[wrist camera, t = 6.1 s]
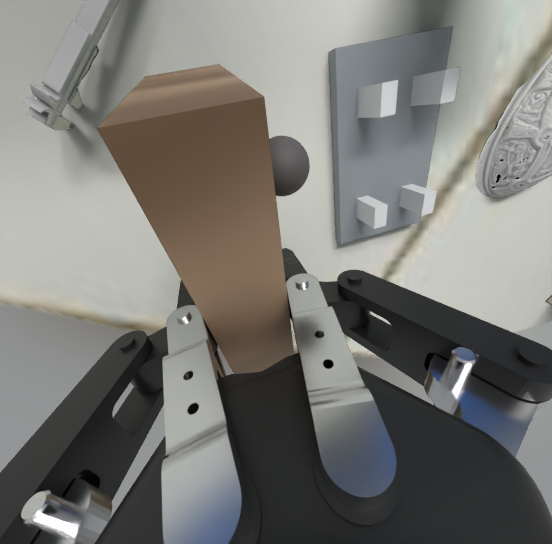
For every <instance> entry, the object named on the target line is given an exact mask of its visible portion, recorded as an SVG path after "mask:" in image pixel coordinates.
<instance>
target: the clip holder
mask: <svg viewBox="0 0 552 544" xmlns="http://www.w3.org/2000/svg"><path fill="white" fill-rule="evenodd" d="M452 29H453V26H452V27H446V28H441V29H436V30H430V31H425V32H420V33H414V34H409V35H404V36H398V37H393V38H388V39H382V40H377V41H372V42H366V43H361V44H356V45H350V46H345V47H340V48H335V49H333V50H332V51H330V52H329V73H330V99H331V124H332V150H333V175H334V200H335V226H336V240H337V241H338V242H339V243H340V244H344V243H347V242H351V241H354V240H358V239H361V238H365V237H368V236H372V235H375V234H379V233H383V232H386V231H390V230H393V229H397V228H400V227H404V226H407V225H411V224H414V223H418V222H420V221H421V216H422V215H426V214H429V213H433V208H434V203H435V198H436V192H437V191H434V190H430V189H427V188H426V185H427V179H428V173H429V167H430V161H431V155H432V149H433V143H434V137H435V131H436V125H437V119H438V113H439V107H440V104H442V103H447V102H451V101H454V99H455V94H456V89H457V83H458V78H459V73H460V68H461V67H457V68H452V69H447V70H446V65H447V59H448V53H449V47H450V41H451V35H452Z"/></svg>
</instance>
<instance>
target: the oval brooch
mask: <svg viewBox="0 0 552 544" xmlns="http://www.w3.org/2000/svg"><path fill="white" fill-rule="evenodd" d="M506 127H508V128H506ZM502 157H503V158H502ZM526 157H528V160H527V158H526ZM500 159H504V161H500ZM523 159H525V160H524V163H523ZM519 161H521V163H520V162H519ZM525 161H526V162H525ZM494 163H495V165H494ZM518 163H520V164H518ZM499 174H500V175H501V178H500V179H499V182H498V183H496V180H497V176H498V175H499ZM551 175H552V53H551V54H550V55H549V56H548V58H547V59H546V60H545V61H544V62H543V63H542V65H541V66H540V67H539V68H538V70H537V71H536V72H535V73H534V74H533V75H532V77H531V78H530V79H529V80H528V81H527V82H526V83H525V84H524V85H523V86H521V87H520V88H519V89H518V90H517V92H516V93H515V95H514V96H513V98H512V99H511V101H510V103H509V105H508V106H507V108H506V110H505V111H504V113H503V115H502V117H501V118H500V120H499V121H498V125H497V128H496V129H495V131H494V132H493V133H492V134H491V136H490V137H489V138H488V140H487V142H486V144H485V145H484V147H483V150H482V152H481V155H480V157H479V160H478V163H477V171H476V174H475V180H476V186H477V188H478V190H479V191H480V193H481V192H482V193H483V194H485V195H486V196H491V197H504V196H508V195H511V194H514V193H516V192H519V191H521V190H524V189H526V188H529V187H531V186H532V185H535V184H537V183H538V182H540V181H542V180H544V179H546V178H548V177H550V176H551ZM505 177H507V178H506V179H505V180H502V179H504V178H505ZM516 177H517V178H518V177H519V179H516ZM514 178H515V179H514ZM521 184H522V186H520V185H521ZM494 186H496V187H495V188H491V187H494ZM491 189H493V190H491ZM482 193H481V194H482Z"/></svg>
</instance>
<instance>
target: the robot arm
mask: <svg viewBox="0 0 552 544" xmlns="http://www.w3.org/2000/svg"><path fill="white" fill-rule="evenodd" d="M282 255H283V263H284V272H285V280H286V289H287V298H288V306H289V315H290V318H291V320H292V322H293V328H294V333H295V339H296V344H297V349H298V353H297V354H294V355H290V356H287V357H286V358H284V359H282V360H280V361H279V362H277V363H275V364H274V365H272V366H270V367H269V368H267V369H265V370H263V371H261V372H252V373H240V374H231V375H228V376H226V373H225V370H224V367H223V364H222V360H221V357H220V354H219V351H218V348H217V342H216V340H215V339H214V337H213V335H212V333H211V331H210V330H209V328H208V326H207V324H206V322H205V321H204V319H203V317H202V315H201V313H200V312H199V310H198V308H197V306H196V305H195V303H194V301H193V299H192V297H191V296H190V294H189V292H188V290H187V288H186V287H185V285H184V283H183V281H182V280H181V283H180V290H179V297H178V304H177V310H175V311H174V312H172V313H171V314H170V316H169V317H168V319H167V322H166V325H167V326H166V327H165V328H163V329H161V330H160V331H158V332H156V333H154V334H152V335H150V336H147V335H146V333H145V332H143V331H132V332H129V333H127V334H125V335H123V336H121V337H120V338H119V339H117V340H116V341H115V342H114V343H113V344H112V345H111V346H110V348H109V349H108V350H107V351H106V352H105V353H104V354H103V356H102V357H101V358H100V359H99V360H98V361H97V362H96V364H95V365H94V366H93V367H92V368H91V369H90V370H89V372H88V373H87V374H86V375H85V376H84V378H83V379H82V380H81V381H80V382H79V383H78V384H77V385H76V386H75V388H74V389H73V390H72V391H71V392H70V394H69V395H68V396H67V397H66V398H65V399H64V400H63V401H62V403H61V404H60V405H59V406H58V407H57V408H56V409H55V411H54V412H53V413H52V414H51V415H50V416H49V417H48V419H47V420H46V421H45V422H44V423H43V424H42V426H41V427H40V428H39V429H38V430H37V431H36V432H35V434H34V435H33V436H32V437H31V438H30V439H29V440H28V442H27V443H26V444H25V445H24V446H23V448H21V450H20V451H19V452H18V453H17V454H16V455H15V457H14V458H13V459H12V460H11V461H10V462H9V463H8V465H7V466H6V467H5V468H4V469H3V470H2V471H1V473H0V544H552V516H551V514H550V512H549V509H548V507H547V505H546V503H545V501H544V498H543V496H542V494H541V492H540V491H539V489H538V487H537V485H536V484H535V482H534V480H533V479H532V478H531V476H530V475H529V473H528V472H527V471H526V469H525V468H524V467H523V466H522V465H521V463H520V462H519V461H518V460H517V459H516V458H515V457H516V455H517V452H518V450H519V448H520V445H521V443H522V441H523V438H524V436H525V434H526V431H527V429H528V426H529V424H530V422H531V421H532V420H533V419H534V418H535V416H536V415H537V414H538V413H539V412H540V411H541V410H542V408H543V407H544V406H545V405H546V404H547V403H548V401H549V400H550V399H551V398H552V350H551V349H549V348H547V347H546V346H543V345H541V344H539V343H537V342H534V341H532V340H529V339H527V338H524V337H522V336H520V335H517V334H515V333H512V332H510V331H508V330H505V329H503V328H500V327H498V326H495V325H493V324H490V323H488V322H486V321H483V320H481V319H478V318H476V317H473V316H471V315H469V314H466V313H464V312H461V311H459V310H456V309H454V308H452V307H449V306H447V305H444V304H442V303H439V302H437V301H435V300H432V299H430V298H427V297H425V296H422V295H420V294H417V293H415V292H413V291H410V290H408V289H405V288H403V287H400V286H398V285H396V284H393V283H391V282H388V281H386V280H383V279H381V278H379V277H376V276H374V275H371V274H369V273H366V272H364V271H360V270H348V271H345V272H343V273H341V274H340V275H339V276H338V279H337V280H338V281H335V282H320V281H318V279H317V278H316V277H315V276H313V275H311V274H308V273H307V272H306V271H305V269H304V268H303V266H302V265H301V263H300V262H299V260H298V259H297V257H296V256H295V254H294V253H293V251H291V250H289V249H287V248H284V249H282ZM370 311H371V312H373V313H375V314H377V315H379V316H381V317H383V318H384V319H386V320H387V321H388V322H389V323H390V324H391V325H392V326H391V325H389V324H387V323H386V322H384V321H382V320H380V319H378V318H376V317H375V316H373V315H371V314H370ZM343 333H344V334H345V335H347V336H348V337H350V338H351V339H353V340H354V341H356V342H358V343H359V344H361V345H362V346H364V347H365V348H367V349H368V350H370V351H371V352H373V353H374V354H376V355H377V356H379V357H380V358H382V359H383V360H385V361H386V362H388V363H390V364H391V365H392V366H394V367H396V368H397V369H399V370H400V371H401V372H403V373H405V374H406V375H408V376H409V377H411V378H412V379H414V380H415V381H417V382H418V383H420V384H421V385H423V386H424V389H425V392H426V394H427V395H428V397H429V398H430V399H431V400H432V402H433V403H434V405H432V404H430V403H428V402H426V401H424V400H422V399H420V398H418V397H416V396H414V395H412V394H410V393H408V392H406V391H405V390H403V389H401V388H399V387H397V386H395V385H393V384H391V383H389V382H387V381H385V380H383V379H381V378H379V377H377V376H375V375H373V374H371V373H369V372H367V371H365V370H363V369H362V368H359V367H358V366H356V364H355V361H354V358H353V356H352V354H351V351H350V349H349V346H348V344H347V341H346V339H345V336H344V334H343ZM130 382H131V383H132V385H133V386H134V388H133V389H132V391H131V392H130V394H129V395H128V397H127V398H126V400H125V401H124V403H123V404H122V406H121V407H120V409H119V410H118V412H117V413H116V415H115V416H114V418H113V417H112V411H113V408H114V405H115V404H116V402H117V400H118V399H119V398H120V396H121V395H122V393H123V392H124V390H125V389H126V388H127V386H128V385H129V383H130ZM163 405H164V412H165V437H164V438H163V440H162V441H161V443H160V444H159V446H158V447H157V449H156V450H155V452H154V454H153V455H152V456H151V458H150V460H149V461H148V463H147V464H146V466H145V467H144V469H143V470H142V472H141V473H140V475H139V476H138V478H137V479H136V481H135V482H134V484H133V485H132V487H131V488H130V490H129V492H128V493H127V495H126V496H125V498H124V499H123V501H122V502H121V504H120V505H119V507H118V508H117V510H116V511H115V513H114V514H113V516H112V518H111V513H112V500H113V498H114V496H115V494H116V492H117V491H118V489H119V487H120V485H121V483H122V481H123V479H124V477H125V475H126V474H127V472H128V470H129V468H130V466H131V464H132V462H133V461H134V459H135V457H136V455H137V453H138V451H139V449H140V447H141V446H142V444H143V442H144V440H145V438H146V436H147V434H148V433H149V431H150V429H151V427H152V425H153V423H154V421H155V419H156V418H157V416H158V414H159V412H160V410H161V408H162V406H163ZM110 518H111V519H110Z"/></svg>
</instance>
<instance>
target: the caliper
mask: <svg viewBox="0 0 552 544" xmlns="http://www.w3.org/2000/svg"><path fill="white" fill-rule="evenodd" d="M118 2H119V0H85V2H84V5H83V7H82V9H81V11H80V13H79V15H78V17H77V19H76V21H74V20H72V21H71V23H70V25H69V27H68V29H67V31H66V33H65V35H64V37H63V39H62V41H61V43H60V45H59V47H58V49H57V51H56V53H55V55H54V57H53V59H52V61H51V63H50V65H49V67H48V69H47V71H46V73H45V75H44V77H43V80H42V83H43V84H44V86H43V88H38V87H37V86H35V85H34V84H32V83H31V84H30V86H31V90H32V93H33V94H34V96H36V97H37V99H34V98H26V99H23V100H22V102H24V103H26V104H27V105H29V106H30V108H29V110H28V112H27V114H29V115H30V116H32V117H34V118H35V119H37V120H38V121H40V122H42V123H43V124H45V125H47V126H49V127H50V128H52V129H54V130H67V129H71V128H72V127H73V126H74V124H73V123H72V122H70V121H69V120H67V119H66V118H65V117H63V116H62V115H61V114H62V112H63V110H64V108H65V106H66V104H67V103H69V104H70V105H72V106H73V107H75V108H76V109H79V110H81V108H82V105H83V104H82V101H81V98H80V95H79V91H78V88H77V87H78V85H79V83H80V81H81V79H83V78H84V76H85V75H86V74H87V72H88V71H89V69H90V67H91V64H92V62H93V60H94V58H95V57H96V55H97V54H98V51H99V49H98V47H97V43H98V41H99V39H100V38H101V36H102V34H103V32H104V30H105V28H106V26H107V24H108V22H109V20H110V18H111V16H112V14H113V12H114V10H115V8H116V6H117V4H118Z"/></svg>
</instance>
